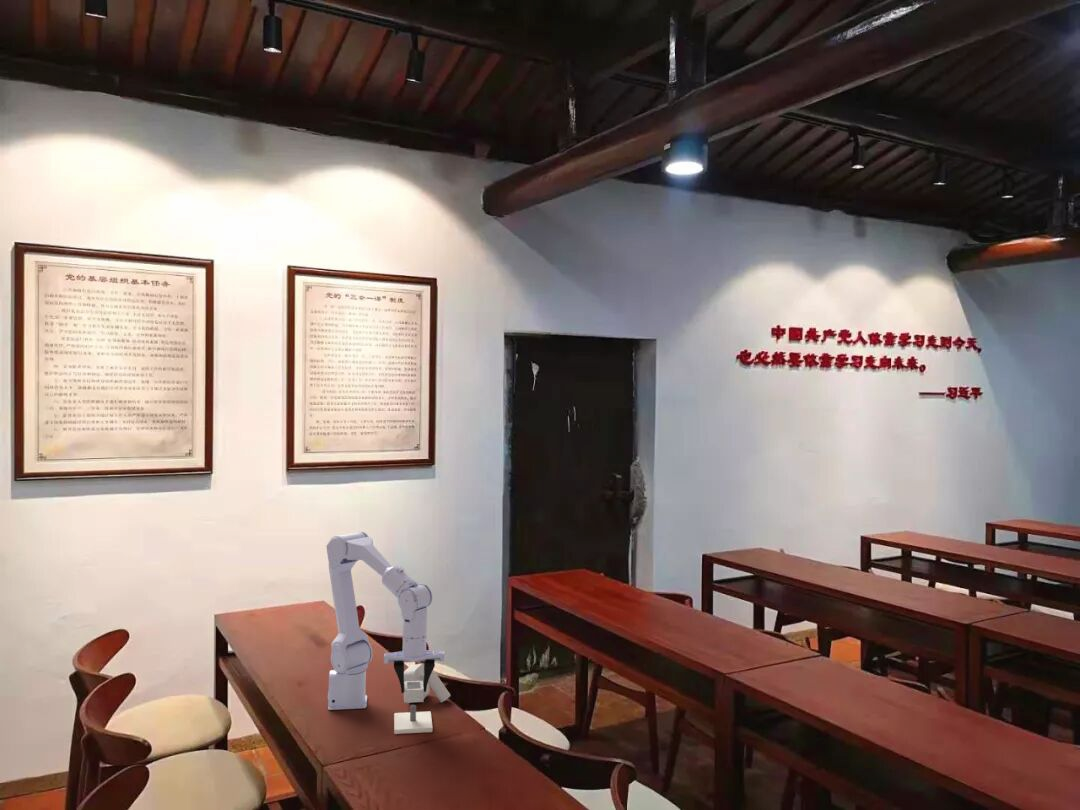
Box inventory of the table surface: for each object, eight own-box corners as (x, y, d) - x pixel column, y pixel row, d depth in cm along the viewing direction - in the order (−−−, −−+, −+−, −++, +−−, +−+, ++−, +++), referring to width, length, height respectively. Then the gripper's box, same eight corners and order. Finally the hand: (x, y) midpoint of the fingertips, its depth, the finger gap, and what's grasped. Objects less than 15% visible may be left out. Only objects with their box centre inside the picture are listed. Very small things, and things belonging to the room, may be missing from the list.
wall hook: (446, 706, 208) (438, 667, 209) (409, 711, 210) (401, 673, 211) (455, 694, 216) (448, 657, 216) (420, 700, 218) (412, 663, 218)
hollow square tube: (423, 701, 195) (423, 689, 195) (404, 702, 194) (404, 690, 194) (422, 692, 201) (422, 680, 201) (403, 693, 200) (404, 681, 200)
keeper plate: (394, 733, 192) (394, 715, 192) (394, 717, 202) (394, 699, 202) (432, 731, 194) (432, 713, 194) (430, 715, 204) (430, 697, 204)
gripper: (384, 641, 192) (383, 698, 193) (445, 639, 195) (444, 695, 195) (384, 632, 199) (383, 687, 199) (443, 630, 202) (442, 685, 202)
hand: (413, 690), depth 198 cm, fingers closed on hollow square tube, 5 cm apart
